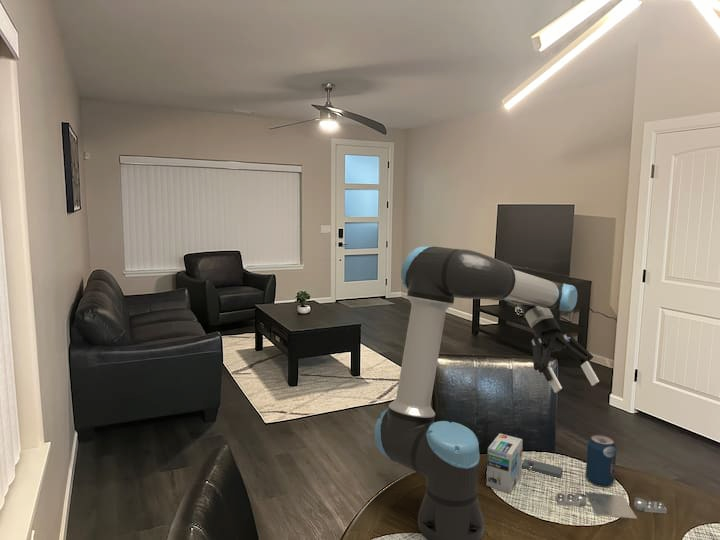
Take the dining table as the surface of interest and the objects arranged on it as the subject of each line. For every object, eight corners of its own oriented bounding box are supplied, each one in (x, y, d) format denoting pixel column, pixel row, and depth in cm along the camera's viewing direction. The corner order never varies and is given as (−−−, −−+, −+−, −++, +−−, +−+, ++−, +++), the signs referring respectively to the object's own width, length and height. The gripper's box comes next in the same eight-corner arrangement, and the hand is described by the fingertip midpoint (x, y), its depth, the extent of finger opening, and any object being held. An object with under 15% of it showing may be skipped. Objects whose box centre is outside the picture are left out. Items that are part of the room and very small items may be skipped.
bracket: (560, 480, 138) (560, 473, 138) (521, 470, 143) (521, 464, 143) (562, 474, 142) (562, 467, 141) (523, 464, 147) (524, 458, 146)
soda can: (617, 489, 133) (620, 446, 132) (589, 486, 134) (592, 444, 133) (608, 475, 140) (611, 434, 138) (582, 473, 141) (585, 432, 140)
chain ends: (561, 512, 123) (562, 504, 123) (553, 491, 132) (553, 483, 132) (672, 521, 120) (673, 513, 120) (655, 499, 129) (656, 491, 129)
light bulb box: (510, 494, 131) (512, 454, 130) (485, 486, 135) (486, 447, 133) (521, 475, 140) (523, 438, 139) (497, 468, 144) (499, 432, 142)
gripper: (567, 325, 162) (602, 386, 151) (503, 333, 153) (535, 399, 142) (581, 312, 157) (618, 375, 145) (515, 320, 148) (549, 387, 136)
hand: (577, 387), depth 143 cm, fingers open, 13 cm apart
